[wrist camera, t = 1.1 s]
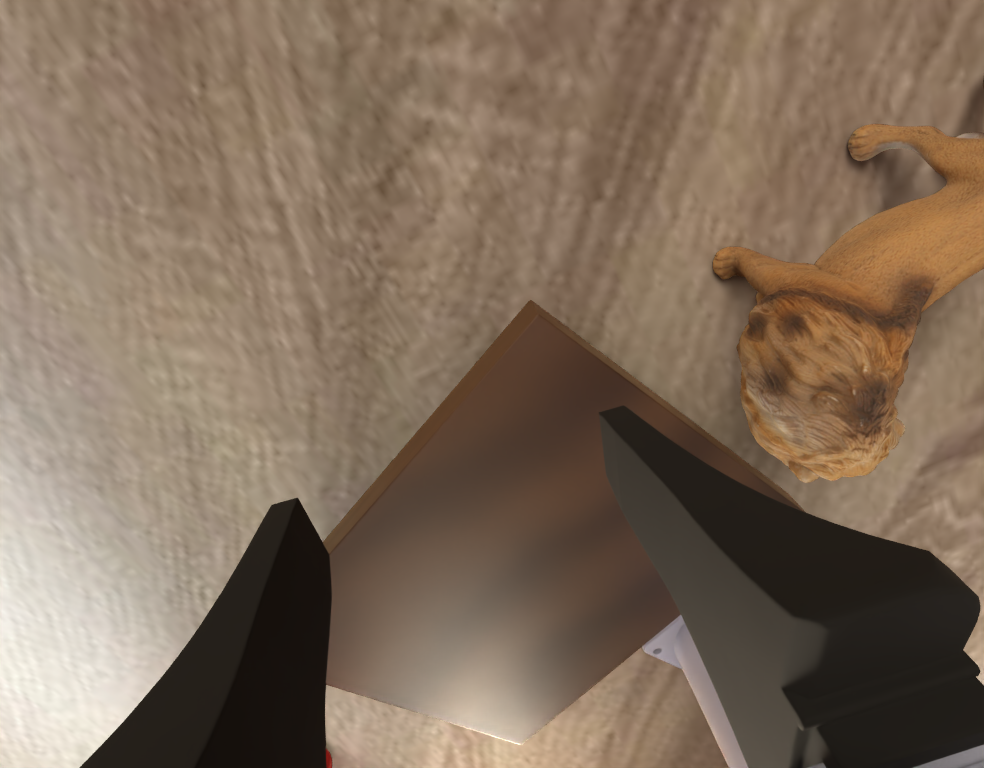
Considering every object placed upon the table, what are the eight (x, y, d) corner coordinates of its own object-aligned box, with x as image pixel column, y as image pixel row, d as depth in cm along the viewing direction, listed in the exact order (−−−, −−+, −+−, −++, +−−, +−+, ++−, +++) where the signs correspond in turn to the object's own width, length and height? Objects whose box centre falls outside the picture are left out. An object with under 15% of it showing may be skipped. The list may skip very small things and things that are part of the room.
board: (788, 493, 25) (806, 513, 24) (517, 722, 30) (521, 745, 29) (529, 299, 18) (538, 313, 17) (245, 632, 24) (238, 658, 23)
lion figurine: (717, 390, 26) (856, 536, 18) (639, 326, 24) (760, 462, 16) (1017, 106, 21) (1368, 141, 14) (955, -7, 19) (1334, -40, 12)
